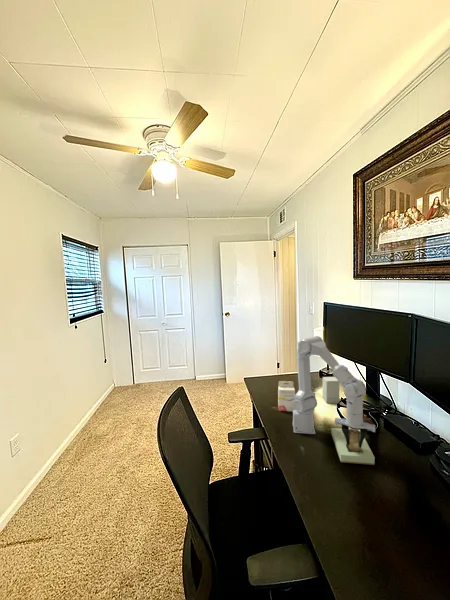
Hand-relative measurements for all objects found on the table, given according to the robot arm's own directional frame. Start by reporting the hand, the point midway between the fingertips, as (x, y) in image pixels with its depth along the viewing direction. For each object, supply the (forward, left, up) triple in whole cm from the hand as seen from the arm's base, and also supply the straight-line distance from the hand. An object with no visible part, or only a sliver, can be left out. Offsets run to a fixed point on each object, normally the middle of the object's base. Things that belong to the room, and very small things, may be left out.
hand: (354, 445), depth 117 cm
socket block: (0, +5, -4) cm, 7 cm away
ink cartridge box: (-25, +38, -5) cm, 46 cm away
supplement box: (0, +52, -5) cm, 52 cm away
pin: (0, 0, -2) cm, 3 cm away
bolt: (+10, +29, -5) cm, 31 cm away
